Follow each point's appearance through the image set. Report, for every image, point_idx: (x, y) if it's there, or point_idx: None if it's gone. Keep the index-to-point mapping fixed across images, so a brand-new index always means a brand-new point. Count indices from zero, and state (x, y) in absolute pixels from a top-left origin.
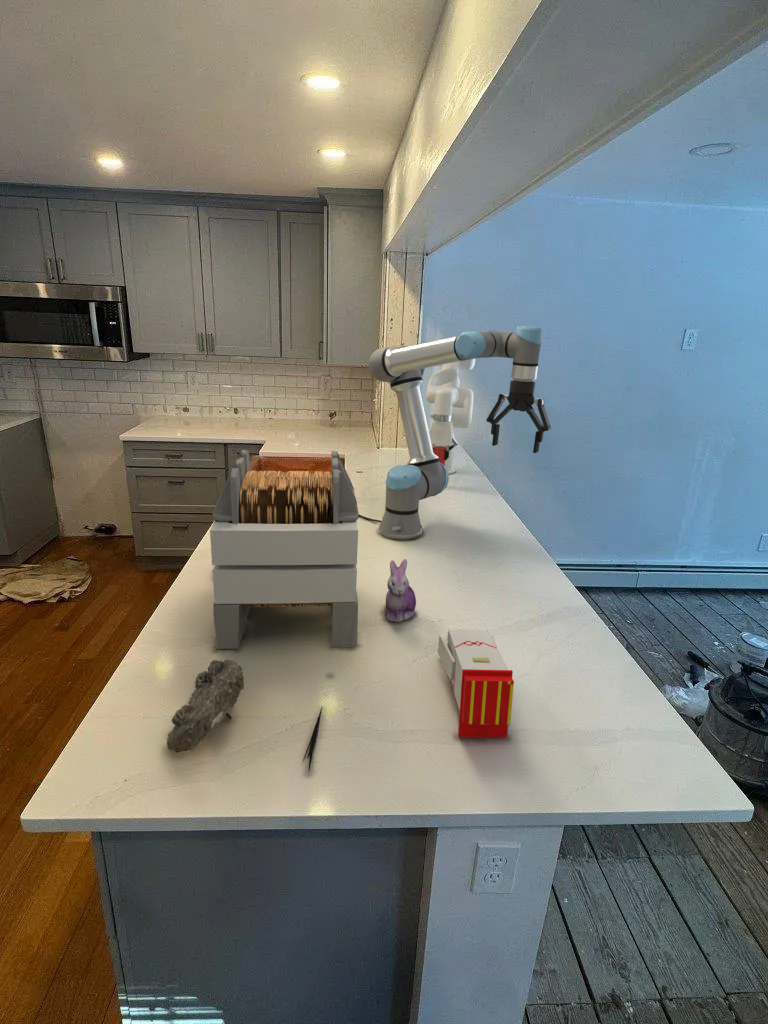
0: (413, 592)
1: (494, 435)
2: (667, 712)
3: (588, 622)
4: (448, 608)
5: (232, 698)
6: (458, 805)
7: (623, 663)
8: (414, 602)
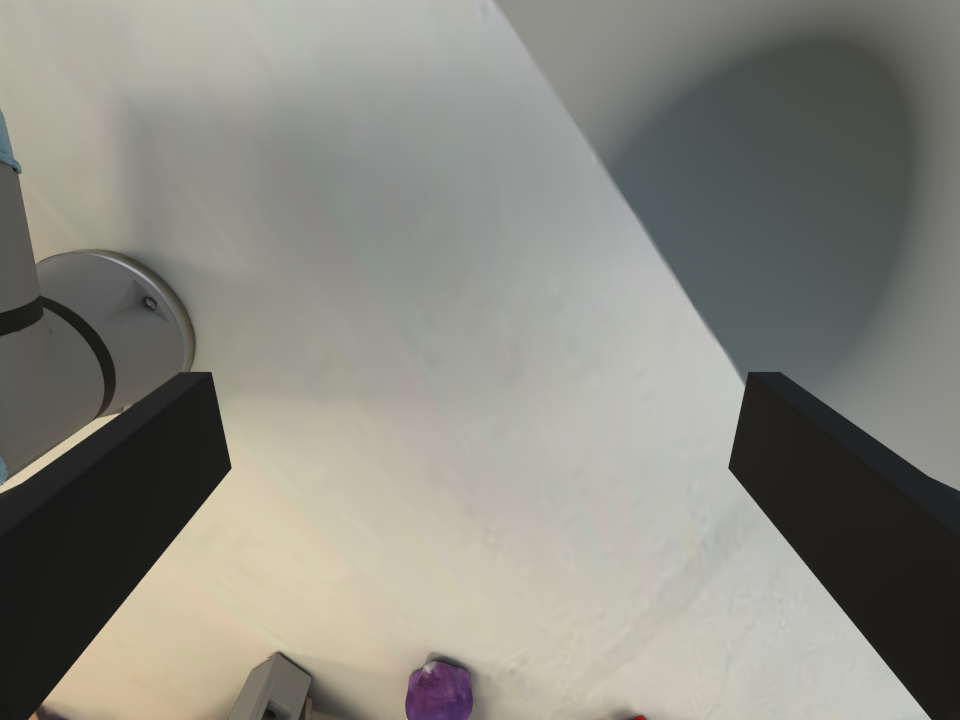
0: (459, 711)
1: (140, 564)
2: None
3: None
4: (514, 621)
5: None
6: None
7: None
8: (471, 706)
